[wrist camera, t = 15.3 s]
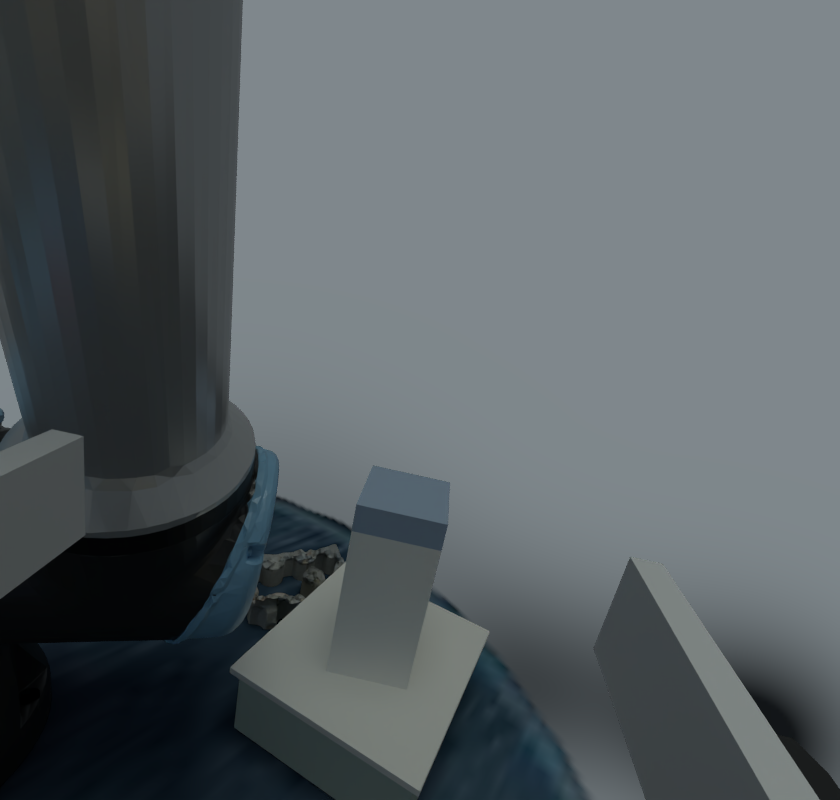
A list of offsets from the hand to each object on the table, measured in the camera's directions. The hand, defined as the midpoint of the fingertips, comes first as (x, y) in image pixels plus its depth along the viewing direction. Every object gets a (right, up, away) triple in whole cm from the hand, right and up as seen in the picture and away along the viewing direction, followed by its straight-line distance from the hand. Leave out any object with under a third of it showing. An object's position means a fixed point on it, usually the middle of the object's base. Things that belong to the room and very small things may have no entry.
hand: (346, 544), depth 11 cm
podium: (-3, -22, +28) cm, 35 cm away
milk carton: (-2, -16, +26) cm, 31 cm away
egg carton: (-11, -17, +38) cm, 43 cm away
